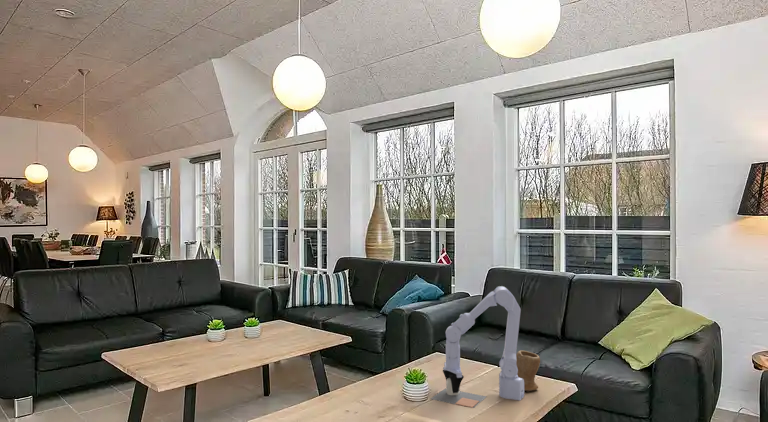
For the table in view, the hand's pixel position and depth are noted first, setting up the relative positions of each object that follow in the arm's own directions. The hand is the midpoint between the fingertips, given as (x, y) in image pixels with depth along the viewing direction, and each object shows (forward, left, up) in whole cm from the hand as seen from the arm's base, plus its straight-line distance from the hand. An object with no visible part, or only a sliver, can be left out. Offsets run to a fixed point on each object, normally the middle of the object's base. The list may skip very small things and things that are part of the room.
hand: (452, 390), depth 206 cm
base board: (-4, +4, -2) cm, 6 cm away
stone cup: (-21, -26, -3) cm, 33 cm away
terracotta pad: (-9, +7, -1) cm, 11 cm away
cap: (0, 0, -1) cm, 1 cm away
